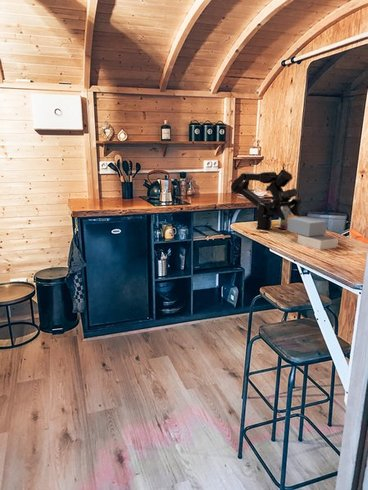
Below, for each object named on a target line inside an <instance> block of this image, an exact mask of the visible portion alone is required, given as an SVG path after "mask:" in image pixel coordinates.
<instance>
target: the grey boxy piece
mask: <svg viewBox="0 0 368 490" xmlns="http://www.w3.org/2000/svg"><path fill="white" fill-rule="evenodd" d="M287 223H288V228H287V229H286V231H288V232H291V233H294V234H298V235H300V234H301V235H305V236H308V237H309V236H317V235H326V233H327V228H328V227H327V226H328V221H327V220H323V219H319V218H314V217H311V216H305V215H304V216H300V215H299V216H294V215H293V214H291V215H288V219H287Z"/></svg>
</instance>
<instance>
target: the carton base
mask: <svg viewBox="0 0 368 490" xmlns="http://www.w3.org/2000/svg"><path fill="white" fill-rule="evenodd" d="M338 242H339V238H337V237H332V236H330V235H326V234H324V235H317V236H309V237H308V236H305V235H301V234H298V235H297V242H296V243H297V244H300V245H304V246H307V247H309V248H313V249H316V250H319V251H321V250H328V249H335V248H338V244H339V243H338Z"/></svg>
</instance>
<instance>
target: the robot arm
mask: <svg viewBox="0 0 368 490" xmlns="http://www.w3.org/2000/svg"><path fill="white" fill-rule="evenodd" d="M292 180H293V176H292V174H291V173H290V172H289V171H287V170H286V169H283V168H282V169H280V171H279V173H278V174H277V172H275V171H265V172H260V173H256V172H255V173H254V172H253V173H252V172H242V173H241V174H240V175H239V176H238V177H237V178H235V179H234V181H233V182H232V183H231V185H230V188H231V191H232V193H235V194H238V195H241V196H243V197H244V198H245V199H246V200H248V201H249V202H250V203H251V204H253V205H254V206H255V207H256V208H257V209H256V211H255V212H254V216H255V217H256V218H257V223H256V224H257V225H256V228H255V229H256V230H263V231H264V230H265V231H269V230H270V229H272V224H273V223H272V222H273V220H272V218H274V216H277V217H278V218H279V217H280V218H281V219H282V220H285V216H284V214H283V212H282V210H281V207H285V206H288V208H289V209H290V211H291V212H292V214H291V215H294V216H299V217H300V211H299V207H300V205H301V204H302V203H303V201H302V200H301V198H294V197H296V196H297V195H298V190H297V189H296V188H292V189H286V190H284V189H283V188H285V187H286V186H287V185H288V184H289V183H290V182H291V181H292ZM250 181H258V182H260V183H262V184H269V185H267V186H266V188H265V191H266V192H270V193H271V196H272V197H271V199H262V198H261V197H260V196H258V195H257V194H256V193H255V192H253V191H252V190H251V189H250V188H249V185H250ZM291 198H292V201H291V202H289V200H291Z"/></svg>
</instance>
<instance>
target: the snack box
mask: <svg viewBox="0 0 368 490" xmlns="http://www.w3.org/2000/svg"><path fill="white" fill-rule="evenodd" d="M292 200H293V197H291V200H289V202H291V201H292ZM281 210H282V212H283V214H284V216H285V220H282V219H281V218H280V217H278V222H279V223H278V225H279V228H280V229H282V230H284V229H285V230H287V228H288V223H287V219H288V215H293V214H292V212H291V211H290V209H289V208H288V206H285V207H281Z"/></svg>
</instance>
